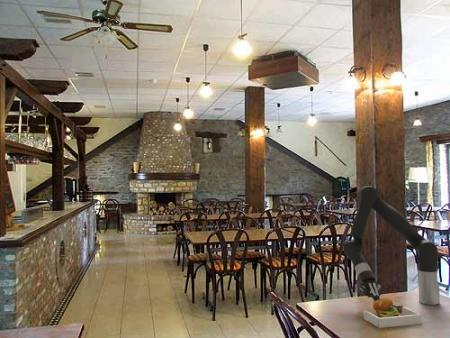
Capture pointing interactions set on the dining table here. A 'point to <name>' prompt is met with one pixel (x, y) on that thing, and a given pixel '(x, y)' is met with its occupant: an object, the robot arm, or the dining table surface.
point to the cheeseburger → (385, 308)
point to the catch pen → (395, 319)
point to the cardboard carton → (397, 306)
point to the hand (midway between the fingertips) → (379, 304)
